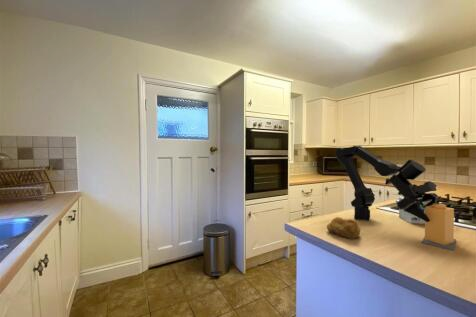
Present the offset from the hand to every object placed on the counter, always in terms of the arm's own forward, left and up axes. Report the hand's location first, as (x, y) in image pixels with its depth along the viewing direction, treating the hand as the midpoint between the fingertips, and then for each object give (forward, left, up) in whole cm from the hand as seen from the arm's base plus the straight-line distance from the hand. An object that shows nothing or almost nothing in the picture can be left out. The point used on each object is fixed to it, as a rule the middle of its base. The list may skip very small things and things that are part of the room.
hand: (435, 219), depth 81 cm
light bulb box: (-1, +26, -8) cm, 28 cm away
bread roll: (-32, -7, -8) cm, 34 cm away
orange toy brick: (+1, -1, -8) cm, 8 cm away
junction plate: (+1, -1, -8) cm, 8 cm away
